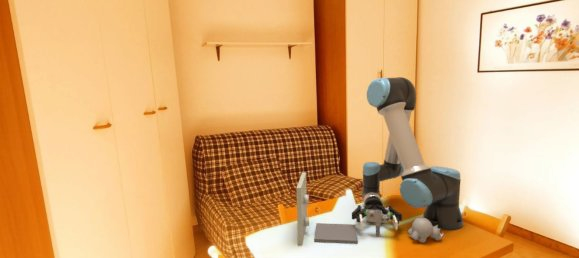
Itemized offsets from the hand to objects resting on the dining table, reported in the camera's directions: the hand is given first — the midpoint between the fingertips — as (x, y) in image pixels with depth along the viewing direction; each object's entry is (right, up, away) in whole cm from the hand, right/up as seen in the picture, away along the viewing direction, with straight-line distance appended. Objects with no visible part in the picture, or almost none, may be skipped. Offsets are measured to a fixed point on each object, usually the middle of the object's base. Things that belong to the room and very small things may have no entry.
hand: (378, 225), depth 126 cm
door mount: (-18, -5, +7) cm, 20 cm away
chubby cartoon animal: (+18, -6, 0) cm, 19 cm away
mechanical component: (+1, -6, +4) cm, 7 cm away
